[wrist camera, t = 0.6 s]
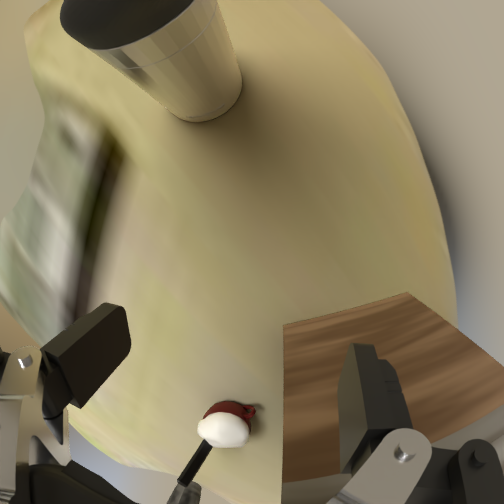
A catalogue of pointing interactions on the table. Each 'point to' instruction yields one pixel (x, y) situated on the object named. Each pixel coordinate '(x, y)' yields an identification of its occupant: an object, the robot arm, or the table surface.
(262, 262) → the table surface
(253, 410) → the cream-topped red cup
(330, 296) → the table surface
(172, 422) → the table surface
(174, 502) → the beverage cup
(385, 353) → the under counter cubby
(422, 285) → the table surface
